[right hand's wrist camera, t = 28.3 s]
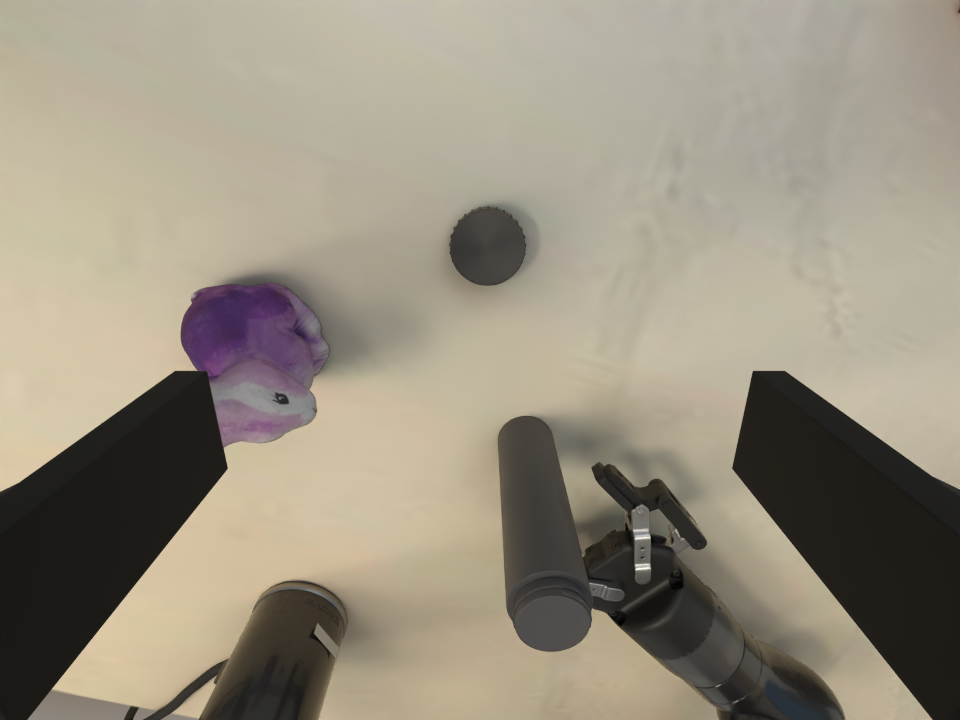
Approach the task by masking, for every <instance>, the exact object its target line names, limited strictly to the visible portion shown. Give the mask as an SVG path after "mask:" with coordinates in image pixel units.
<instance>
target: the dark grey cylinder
mask: <svg viewBox="0 0 960 720" xmlns="http://www.w3.org/2000/svg"><path fill="white" fill-rule="evenodd" d="M498 452H499V472H500V491H501V510H502V530H503V549H504V568H505V588H506V606H507V611H508V614H509V616H510V618H511V620H512V621H513V624H514V628H515V629H516V632H517V634H518V636H519V638H520V639H521V640H522V641H523V642H524V643H525V644H526V645H528V646H530V647H532V648H534V649H537V650H541V651H548V652H554V651H562V650H565V649H568V648H571V647H573V646H575V645H576V644H578V643H579V642H580V641H582V640H583V639H584V637H585V636H586V635H587V633H588V631H589V628H590V627H591V621H592V617H591V610H592V606H593V597H592V593H591V589H590V585H589V581H588V577H587V573H586V569H585V565H584V561H583V557H582V553H581V549H580V544H579V540H578V536H577V532H576V528H575V524H574V520H573V516H572V512H571V508H570V504H569V500H568V496H567V492H566V488H565V484H564V480H563V476H562V472H561V468H560V464H559V460H558V456H557V452H556V448H555V444H554V439H553V435H552V432H551V430H550V428H549V427H548V425H547V424H546V423H545V422H543V421H542V420H540V419H538V418H535V417H531V416H522V417H517V418H514V419H512V420H510V421H509V422H507V423H506V424H505V425H504V426H503V428H502V429H501V431H500V433H499V436H498Z"/></svg>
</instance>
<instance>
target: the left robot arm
mask: <svg viewBox="0 0 960 720" xmlns="http://www.w3.org/2000/svg"><path fill="white" fill-rule="evenodd" d="M592 471H593V473H594V476H595V479H596V481H597V482H598V483H599V485H600V486H601V487H602V488H603V489H604V490H605V491H606V492H607V493H608V494H609V495H610V496H611V497H612V498H613V499H615V500H616V501H617V502H618V503H619V504H620V505H621V506H622V507H623V508H624V509H625V510H624V530H621V531H616V530H613V531H612V532H610V533H609V534H607V535H606V536H605V538H604V539H603V540H602V541H601V542H598V543H596V544H593V545H591V546H590V547H589V548H587V549H586V550H585V552H586V553H582V557H583V561H584V565H585V569H586V573H587V577H588V581H589V585H590V589H591V593H592V597H593V606H592V608H593V609H596V610H600V611H603V612H605V613H607V614H608V615H609V616H610V618H611V619H612V620H613V621H614V622H615V623H616V624H617V625H618V626H619V627H620V628H621V629H622V630H623V631H624V632H625V633H626V634H628V635H629V636H630V637H631V638H632V639H633V640H634V641H635V642H637V643H638V644H639V645H640V646H641V647H642V648H643V649H644V650H646V651H647V652H648V653H649V654H650V655H651V656H652V657H654V658H655V659H656V660H657V661H658V662H659V663H660V664H661V665H663V666H664V667H665V668H666V669H668V670H669V671H670V672H672V673H673V674H675V675H676V676H678V677H680V678H681V679H683V680H684V681H685V682H686V683H687V684H688V685H689V686H691V687H692V688H693V689H694V690H695V691H696V692H697V693H698V694H700V695H701V696H702V697H703V698H704V699H705V700H707V701H708V702H709V703H710V704H712V705H713V706H715V707H716V709H717V715H718V719H719V720H846V719H845V715H844V712H843V710H842V707H841V705H840V703H839V701H838V699H837V698H836V696H835V695H834V693H833V692H832V690H831V689H830V688H829V686H828V685H827V684H826V683H825V682H824V680H823V679H822V678H821V677H820V676H819V675H818V674H816V673H815V672H814V671H813V670H812V669H810V668H809V667H808V666H806V665H805V664H803V663H802V662H800V661H798V660H796V659H795V658H793V657H791V656H789V655H787V654H785V653H783V652H782V651H780V650H778V649H776V648H774V647H772V646H770V645H768V644H766V643H764V642H761V641H759V640H756V639H755V638H754V637H753V636H752V635H751V634H750V633H749V632H748V631H747V630H746V629H745V628H744V627H743V626H742V625H741V624H740V623H739V622H738V621H737V620H736V619H735V618H734V617H733V616H732V615H731V613H730V612H729V611H728V609H727V608H726V606H725V605H724V604H723V603H722V602H721V601H720V600H719V598H718V597H717V596H716V594H715V593H714V592H713V591H712V590H711V589H710V588H709V587H708V586H706V585H704V584H703V583H702V582H701V581H700V580H699V579H698V578H697V577H696V576H695V575H694V574H693V573H692V572H691V571H690V570H689V569H688V568H687V567H686V566H685V565H684V564H683V563H682V562H681V561H680V560H679V559H678V558H677V557H676V553H678V552H680V551H681V550H683V549H685V548H686V547H688V546H691V547H692V548H693V549H695V550H700V549H703V548H704V547H705V546H706V545H707V541H706V539H705V537H704V536H703V534H702V532H701V530H700V529H699V527H698V525H697V524H696V522H695V520H694V519H693V518H692V516H691V515H690V514H689V513H688V512H687V510H686V509H685V508H684V507H683V505H682V504H681V503H680V502H679V501H678V499H677V498H676V497H675V496H674V495H673V493H672V492H671V491H670V490H669V489H668V487H667V486H666V485H665V484H664V483H663V481H662V480H660V479H653V480H652V481H650V482H649V484H648V486H646V487H642V488H638V487H635V486H634V485H633V484H632V483H631V482H630V481H629V480H628V479H627V478H626V477H625V476H624V475H623V474H622V473H621V472H620V471H619V470H618V469H617V468H616V467H615V466H613V465H611V464H607V465H606V466H605V467H604V466H603V465H602V464H601V463H600V462H598V463H597V464H595V465H594V466H593V467H592ZM656 509H660V510H661V511H662V513H663V514H664V515H665V516H666V517H667V518H668V520H669V521H670V524H669V526H668V529H669V531H670V535H669V537H668V538H667V539H666V538H665V537H663V536H659V535H653V534H650V532H649V512H650V511H653V510H656ZM346 627H347V615H346V612H345V609H344V607H343V606H342V604H341V603H340V601H339V600H338V599H337V598H336V597H335V596H333V595H332V594H331V593H329V592H328V591H326V590H324V589H322V588H320V587H318V586H315V585H312V584H307V583H301V582H289V583H283V584H279V585H276V586H274V587H271V588H270V589H268V590H267V591H265V592H264V593H263V594H262V595H261V596H260V598H259V599H258V601H257V603H256V605H255V607H254V609H253V612H252V615H251V617H250V619H249V621H248V623H247V625H246V627H245V629H244V631H243V633H242V635H241V637H240V639H239V641H238V643H237V645H236V647H235V649H234V651H233V653H232V654H231V656H230V658H229V659H228V660H226V661H225V662H221V663H219V664H217V665H215V666H213V667H212V668H210V669H209V670H208V671H206V672H205V673H204V674H202V675H201V676H200V677H199V678H198V679H196V680H195V681H194V682H193V683H191V684H190V685H189V686H187V687H186V688H185V689H184V690H183V691H182V692H181V693H180V694H179V695H178V696H177V697H176V698H175V699H174V700H173V701H172V702H170V703H169V704H168V705H167V706H165V707H164V708H162V709H160V710H159V711H157V712H156V713H154V714H152V715H151V716H149V717H147V718H146V719H144V720H161V719H162V718H164V717H166V716H167V715H169V714H170V713H172V712H173V711H174V710H176V709H177V708H178V707H179V706H180V705H181V704H182V703H183V702H184V701H185V700H186V699H187V698H188V697H189V696H190V695H192V694H193V693H194V692H195V691H197V690H198V689H199V688H201V687H202V686H203V685H204V684H206V683H207V682H208V681H209V680H211V679H212V678H213V677H215V676H216V675H217V674H218V675H217V677H216V679H215V681H214V683H215V684H216V686H215V688H214V690H213V692H212V694H211V696H210V698H209V700H208V702H207V704H206V706H205V708H204V710H203V712H202V714H201V716H200V718H199V720H318V719H319V716H320V712H321V709H322V705H323V702H324V699H325V695H326V692H327V688H328V685H329V682H330V678H331V675H332V671H333V668H334V665H335V662H336V659H337V656H338V652H339V649H340V645H341V641H342V639H343V637H344V634H345V631H346ZM138 709H139V707H136V706H130V708H129V710H128V712H127V714H126V716H125V718H124V720H133V718H134V716H135V714H136V712H137V710H138Z"/></svg>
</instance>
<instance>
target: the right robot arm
mask: <svg viewBox="0 0 960 720" xmlns="http://www.w3.org/2000/svg"><path fill="white" fill-rule="evenodd" d="M227 469H228V467H227V462H226V458H225V453H224V448H223V444H222V439H221V434H220V430H219V425H218V420H217V415H216V411H215V406H214V401H213V397H212V392H211V387H210V383H209V378H208V373H207V371H175V372H173V373H172V374H170V375H169V376H168V377H166V378H165V379H163V380H162V381H161V382H159V383H158V384H156V385H155V386H154V387H152V388H151V389H149V390H148V391H147V392H145V393H144V394H142V395H141V396H140V397H138V398H137V399H135V400H134V401H133V402H131V403H130V404H128V405H127V406H126V407H124V408H123V409H121V410H120V411H119V412H117V413H116V414H114V415H113V416H112V417H110V418H109V419H107V420H106V421H105V422H103V423H102V424H100V425H99V426H98V427H96V428H95V429H94V430H92V431H91V432H89V433H88V434H87V435H85V436H84V437H82V438H81V439H80V440H78V441H77V442H75V443H74V444H73V445H71V446H70V447H68V448H67V449H66V450H64V451H63V452H61V453H60V454H59V455H57V456H56V457H54V458H53V459H52V460H50V461H49V462H47V463H46V464H45V465H43V466H42V467H40V468H39V469H38V470H36V471H35V472H33V473H32V474H31V475H29V476H28V477H26V478H25V479H24V480H22V481H21V482H19V483H18V484H16V485H14V486H11V487H9V488H7V489H5V490H3V491H1V492H0V720H27V719H28V718H29V717H30V716H31V714H32V713H33V712H34V711H35V709H36V708H37V707H38V705H39V704H40V703H41V702H42V700H43V699H44V698H45V697H46V695H47V694H48V693H49V692H50V691H51V689H52V688H53V687H54V686H55V684H56V683H57V682H58V680H59V679H60V678H61V677H62V675H63V674H64V673H65V672H66V670H67V669H68V668H69V667H70V665H71V664H72V663H73V662H74V660H75V659H76V658H77V657H78V655H79V654H80V653H81V652H82V650H83V649H84V648H85V647H86V645H87V644H88V643H89V642H90V640H91V639H92V638H93V637H94V635H95V634H96V633H97V632H98V630H99V629H100V628H101V627H102V625H103V624H104V623H105V622H106V620H107V619H108V618H109V617H110V615H111V614H112V613H113V612H114V610H115V609H116V608H117V607H118V605H119V604H120V603H121V602H122V600H123V599H124V598H125V597H126V595H127V594H128V593H129V592H130V590H131V589H132V588H133V587H134V585H135V584H136V583H137V582H138V580H139V579H140V578H141V577H142V575H143V574H144V573H145V572H146V570H147V569H148V568H149V567H150V565H151V564H152V563H153V562H154V560H155V559H156V558H157V557H158V555H159V554H160V553H161V552H162V550H163V549H164V548H165V547H166V545H167V544H168V543H169V542H170V540H171V539H172V538H173V537H174V535H175V534H176V533H177V532H178V530H179V529H180V528H181V527H182V525H183V524H184V523H185V522H186V520H187V519H188V518H189V517H190V515H191V514H192V513H193V511H194V510H195V509H196V508H197V506H198V505H199V504H200V503H201V501H202V500H203V499H204V498H205V496H206V495H207V494H208V493H209V491H210V490H211V489H212V488H213V486H214V485H215V484H216V483H217V481H218V480H219V479H220V478H221V476H222V475H223V474H224V473H225V471H226V470H227ZM732 469H733V470H734V471H735V473H736V474H737V475H738V476H739V478H740V479H741V480H742V481H743V483H744V484H745V485H746V486H747V488H748V489H749V490H750V491H751V493H752V494H753V495H754V496H755V498H756V499H757V500H758V501H759V503H760V504H761V505H762V506H763V508H764V509H765V510H766V511H767V513H768V514H769V515H770V517H771V518H772V519H773V520H774V522H775V523H776V524H777V525H778V527H779V528H780V529H781V530H782V532H783V533H784V534H785V535H786V537H787V538H788V539H789V540H790V542H791V543H792V544H793V545H794V547H795V548H796V549H797V550H798V552H799V553H800V554H801V555H802V557H803V558H804V559H805V560H806V562H807V563H808V564H809V565H810V567H811V568H812V569H813V570H814V572H815V573H816V574H817V575H818V577H819V578H820V579H821V580H822V582H823V583H824V584H825V585H826V587H827V588H828V589H829V590H830V592H831V593H832V594H833V595H834V597H835V598H836V599H837V600H838V602H839V603H840V604H841V605H842V607H843V608H844V609H845V610H846V612H847V613H848V614H849V615H850V617H851V618H852V619H853V620H854V622H855V623H856V624H857V625H858V627H859V628H860V629H861V630H862V632H863V633H864V634H865V635H866V637H867V638H868V639H869V640H870V642H871V643H872V644H873V645H874V647H875V648H876V649H877V650H878V652H879V653H880V654H881V655H882V657H883V658H884V659H885V660H886V662H887V663H888V664H889V665H890V667H891V668H892V669H893V670H894V672H895V673H896V674H897V675H898V677H899V678H900V679H901V680H902V682H903V683H904V684H905V686H906V687H907V688H908V689H909V691H910V692H911V693H912V694H913V696H914V697H915V698H916V699H917V701H918V702H919V703H920V704H921V706H922V707H923V708H924V709H925V711H926V712H927V713H928V714H929V716H930V717H931V718H932V719H933V720H960V489H957V488H955V487H953V486H951V485H949V484H947V483H945V482H943V481H941V480H939V479H937V478H934V477H932V476H931V475H929V474H928V473H927V472H925V471H924V470H922V469H921V468H920V467H918V466H917V465H915V464H914V463H913V462H911V461H910V460H908V459H907V458H906V457H904V456H903V455H901V454H900V453H899V452H897V451H896V450H894V449H893V448H892V447H890V446H889V445H887V444H886V443H885V442H883V441H882V440H880V439H879V438H878V437H876V436H875V435H873V434H872V433H871V432H869V431H868V430H866V429H865V428H864V427H862V426H861V425H859V424H858V423H857V422H855V421H854V420H853V419H851V418H850V417H848V416H847V415H846V414H844V413H843V412H841V411H840V410H839V409H837V408H836V407H834V406H833V405H832V404H830V403H829V402H827V401H826V400H825V399H823V398H822V397H820V396H819V395H818V394H816V393H815V392H813V391H812V390H811V389H809V388H808V387H806V386H805V385H804V384H802V383H801V382H799V381H798V380H797V379H795V378H794V377H792V376H791V375H790V374H788V373H787V372H785V371H753V373H752V378H751V383H750V387H749V392H748V397H747V401H746V406H745V411H744V415H743V420H742V425H741V430H740V434H739V439H738V444H737V448H736V453H735V458H734V462H733V467H732Z"/></svg>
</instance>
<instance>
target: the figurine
mask: <svg viewBox="0 0 960 720" xmlns="http://www.w3.org/2000/svg"><path fill="white" fill-rule="evenodd" d="M191 302H192V304H191V306H190V307H189V308H188V310H187V311H186V313H185V315H184V317H183V321H182V326H181V342H182V346H183V348H184V350H185V352H186V353H187V355H188V356H189V358H190V360H191V362H192V363H193V365H194V366H195V368H196V369H197V370H198V371H207V373H208V378H209V383H210V387H211V392H212V397H213V401H214V406H215V411H216V415H217V420H218V425H219V430H220V434H221V439H222V444H223V448H224V447H226V446H227V445H229V444H232V443H235V442H239V441H244V442H252V443H267V442H271V441H274V440H276V439H278V438H280V437H282V436H283V435H284V434H285V433H287V432H290V431H292V430H294V429H296V428H299V427H302V426H305V425H307V424H309V423H310V422H311V421H312V420H313V419H314V418H315V416H316V413H317V408H316V399H315V397H314V395H313V394H312V392H311V391H310V390H309V389H310V388H311V386H312V382H313V378H314V376H315V375H317V374H318V372H319V369H321V367H322V366H323V364H324V362H326V359H327V357H328V356H329V347H328V344H327V343H326V342H325V340H324V339H323V338H322V336H321V334H320V330H321V326H320V323H319V320H318V318H317V317H316V316H315V314H314V313H313V312H312V311H311V310H310V309H309V308H308V306H306V305H305V304H304V303H303V302H302V300H301V299H300V298H299V297H297V296H296V295H295V294H294V293H292V292H291V291H290V290H289V289H287V288H286V287H285V286H281V285H278V284H274V283H267V284H262V285H256V286H244V285H236V284H228V285H221V286H214V287H207V288H203V289H200V290H198V291H196V292H194V293H193V294H192V296H191Z"/></svg>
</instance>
